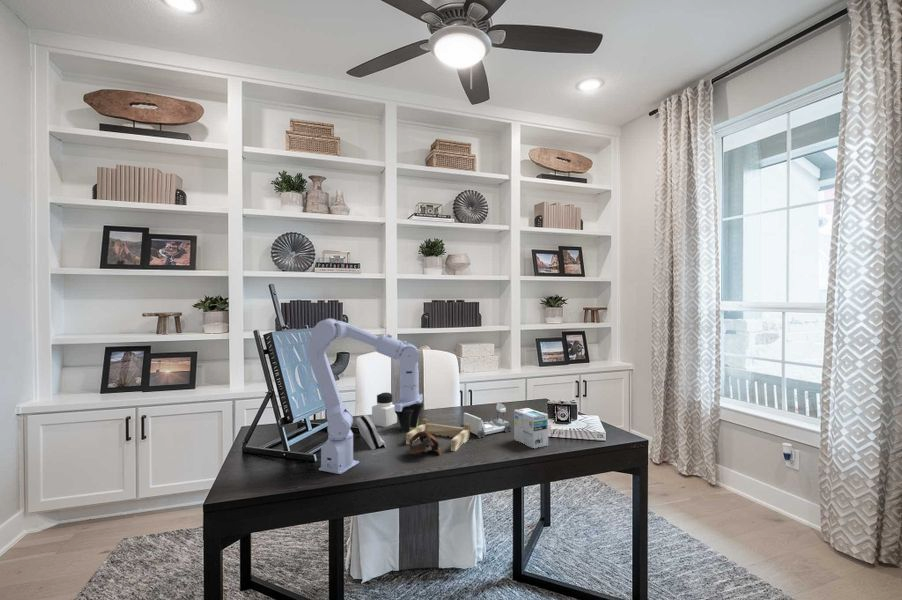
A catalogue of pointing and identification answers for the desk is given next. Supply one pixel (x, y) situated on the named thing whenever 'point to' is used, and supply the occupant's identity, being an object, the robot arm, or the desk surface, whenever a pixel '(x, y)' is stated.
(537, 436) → the light bulb box
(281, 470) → the desk surface
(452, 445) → the cradle
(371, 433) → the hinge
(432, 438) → the pottery mug
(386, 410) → the medicine bottle
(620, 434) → the desk surface
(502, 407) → the toy car
